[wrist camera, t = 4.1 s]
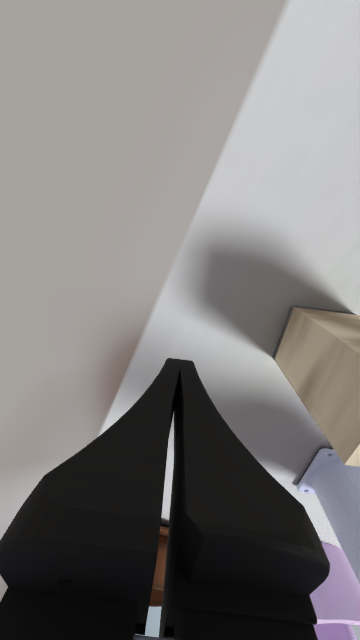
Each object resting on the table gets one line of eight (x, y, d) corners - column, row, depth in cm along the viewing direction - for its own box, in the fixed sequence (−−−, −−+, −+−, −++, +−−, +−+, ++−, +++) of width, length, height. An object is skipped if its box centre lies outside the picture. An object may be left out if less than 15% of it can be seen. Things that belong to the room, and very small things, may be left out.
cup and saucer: (114, 543, 34) (99, 603, 29) (124, 508, 30) (109, 573, 24) (180, 555, 35) (178, 617, 30) (200, 524, 30) (203, 590, 25)
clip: (222, 553, 34) (229, 626, 28) (262, 522, 29) (282, 601, 23) (317, 579, 37) (344, 652, 30) (369, 554, 32) (414, 634, 25)
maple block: (353, 313, 16) (533, 400, 8) (327, 364, 18) (446, 477, 10) (291, 305, 16) (403, 384, 7) (272, 357, 18) (344, 464, 9)
